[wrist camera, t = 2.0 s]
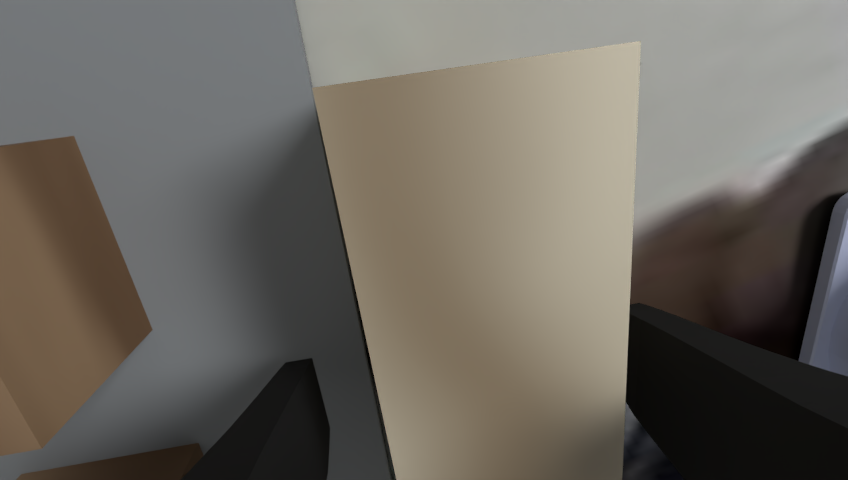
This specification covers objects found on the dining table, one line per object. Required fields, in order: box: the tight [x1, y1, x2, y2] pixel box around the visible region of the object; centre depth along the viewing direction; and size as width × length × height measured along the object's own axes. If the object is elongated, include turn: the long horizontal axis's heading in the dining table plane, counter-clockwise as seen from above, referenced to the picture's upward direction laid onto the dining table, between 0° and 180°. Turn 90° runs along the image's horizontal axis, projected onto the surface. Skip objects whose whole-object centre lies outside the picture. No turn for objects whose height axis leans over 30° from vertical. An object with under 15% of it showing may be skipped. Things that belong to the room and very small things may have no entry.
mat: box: [0, 0, 392, 480], centre depth 11 cm, size 12×18×1 cm, turn 7°
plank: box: [312, 41, 641, 480], centre depth 9 cm, size 4×13×4 cm, turn 8°
